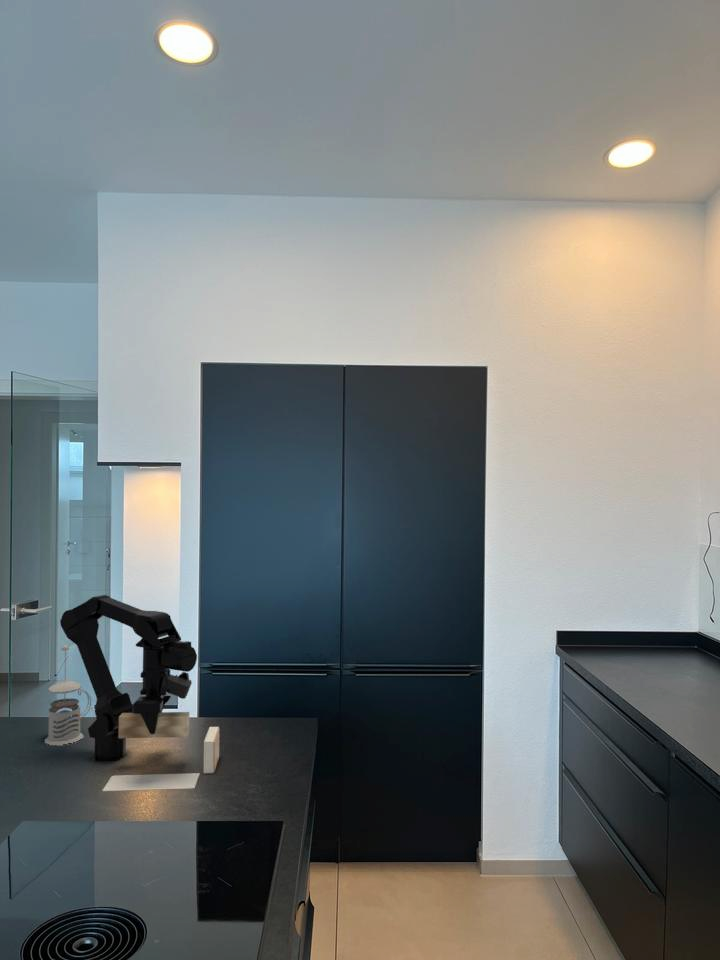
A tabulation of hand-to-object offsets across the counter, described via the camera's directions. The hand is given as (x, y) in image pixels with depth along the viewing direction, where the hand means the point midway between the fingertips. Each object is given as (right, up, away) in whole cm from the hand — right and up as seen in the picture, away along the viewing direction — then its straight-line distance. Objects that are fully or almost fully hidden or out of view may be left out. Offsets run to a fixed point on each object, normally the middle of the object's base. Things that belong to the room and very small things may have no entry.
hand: (154, 731), depth 163 cm
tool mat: (+2, -9, -9) cm, 13 cm away
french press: (-29, -9, +19) cm, 36 cm away
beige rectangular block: (0, -1, 0) cm, 1 cm away
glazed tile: (+14, -9, +1) cm, 16 cm away
